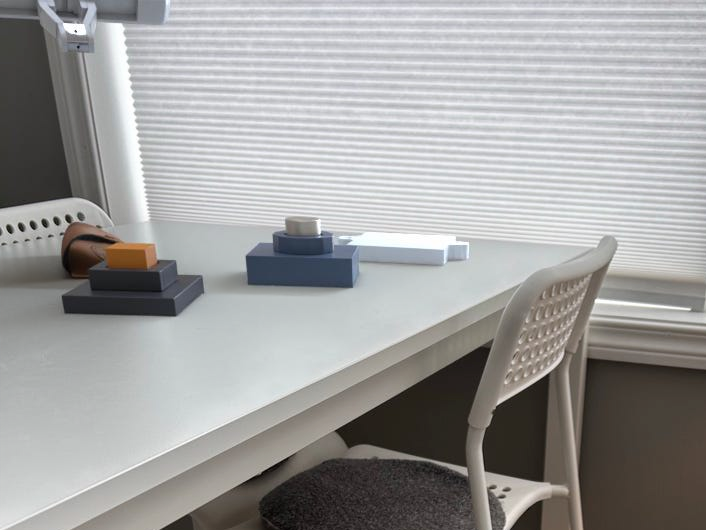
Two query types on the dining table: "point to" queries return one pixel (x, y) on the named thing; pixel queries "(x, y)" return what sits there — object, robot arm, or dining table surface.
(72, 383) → the dining table surface
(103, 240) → the sunglasses case
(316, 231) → the silver short cylinder
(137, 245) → the orange square flat block
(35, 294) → the dining table surface
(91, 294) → the key block
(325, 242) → the key block
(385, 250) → the mounting plate
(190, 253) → the dining table surface
